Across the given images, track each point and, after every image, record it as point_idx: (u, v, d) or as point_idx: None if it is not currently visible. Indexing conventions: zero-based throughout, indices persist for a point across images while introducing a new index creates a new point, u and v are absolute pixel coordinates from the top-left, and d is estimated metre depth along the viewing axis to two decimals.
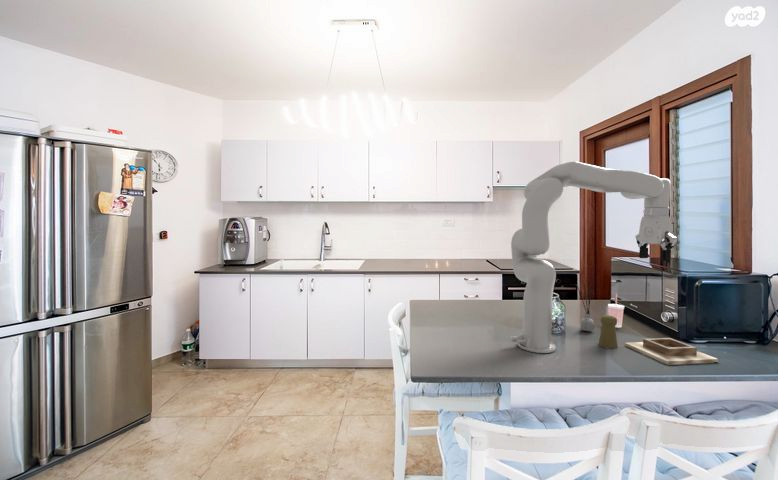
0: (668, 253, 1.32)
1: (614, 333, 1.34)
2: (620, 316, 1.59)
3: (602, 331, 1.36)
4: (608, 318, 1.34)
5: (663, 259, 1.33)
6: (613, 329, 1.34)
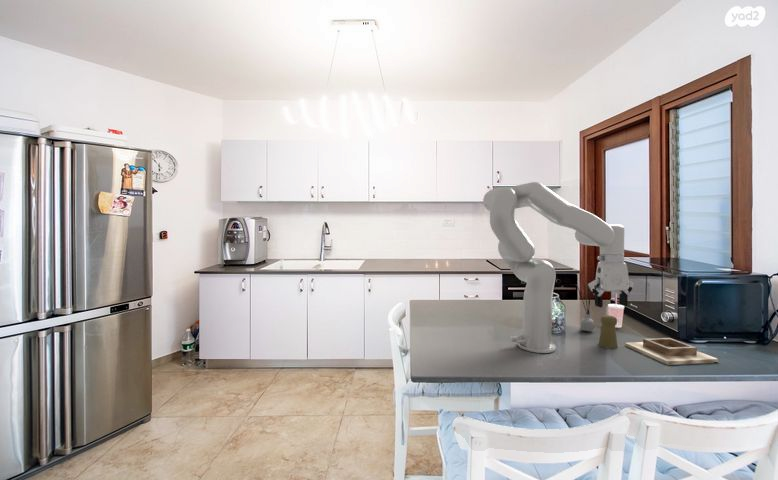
0: None
1: (614, 333, 1.34)
2: (620, 316, 1.59)
3: (602, 331, 1.36)
4: (608, 318, 1.34)
5: None
6: (613, 329, 1.34)
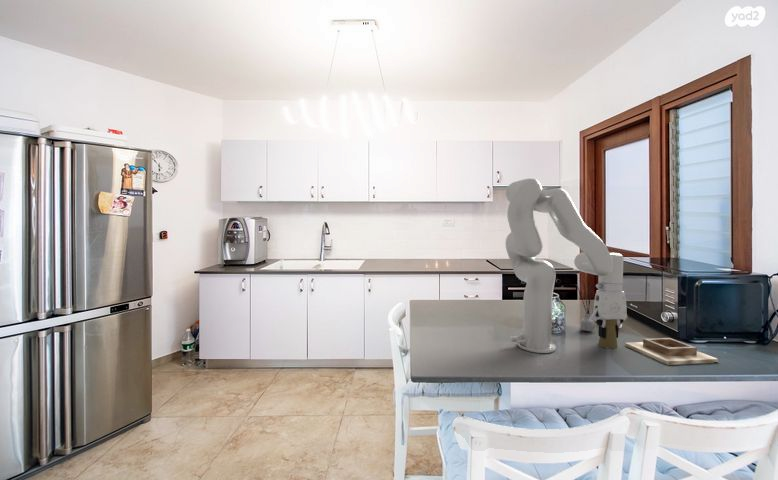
0: None
1: (614, 333, 1.34)
2: None
3: None
4: None
5: None
6: (613, 329, 1.34)
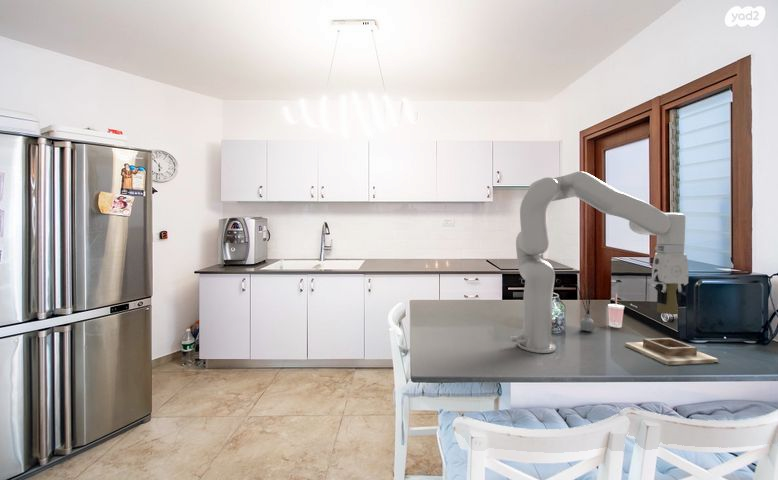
0: None
1: (675, 298, 1.26)
2: (620, 316, 1.59)
3: None
4: None
5: None
6: (674, 294, 1.26)
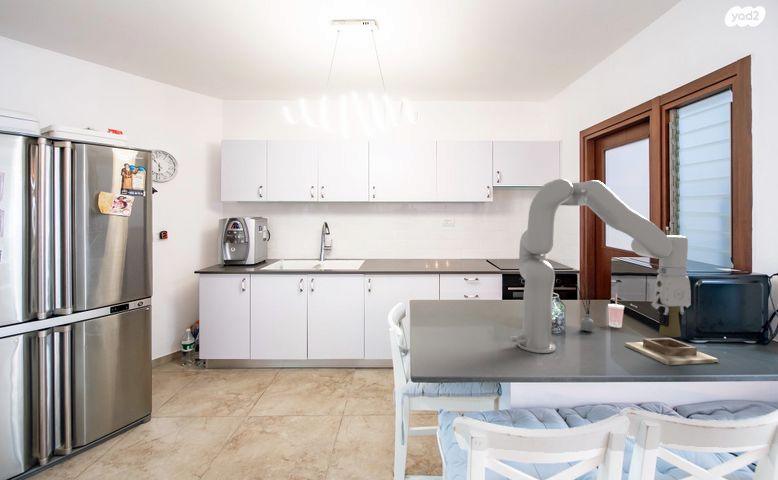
0: None
1: (677, 321, 1.26)
2: (620, 316, 1.59)
3: None
4: None
5: None
6: (676, 316, 1.26)
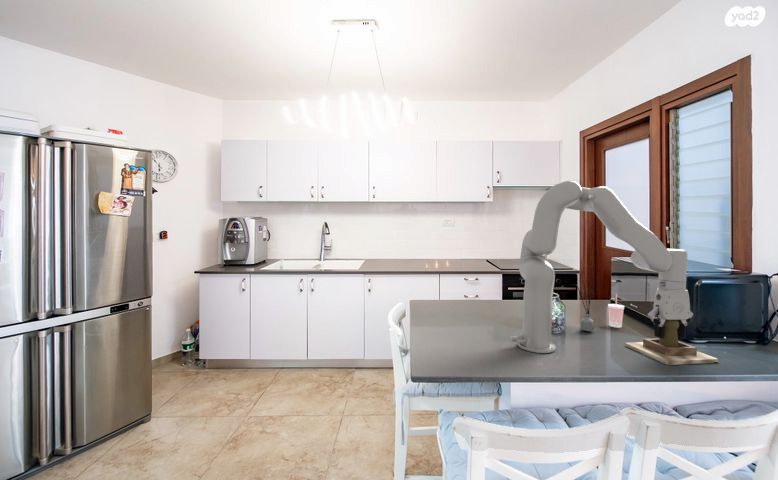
0: None
1: (676, 337, 1.26)
2: (620, 316, 1.59)
3: None
4: (670, 321, 1.26)
5: None
6: (675, 333, 1.26)
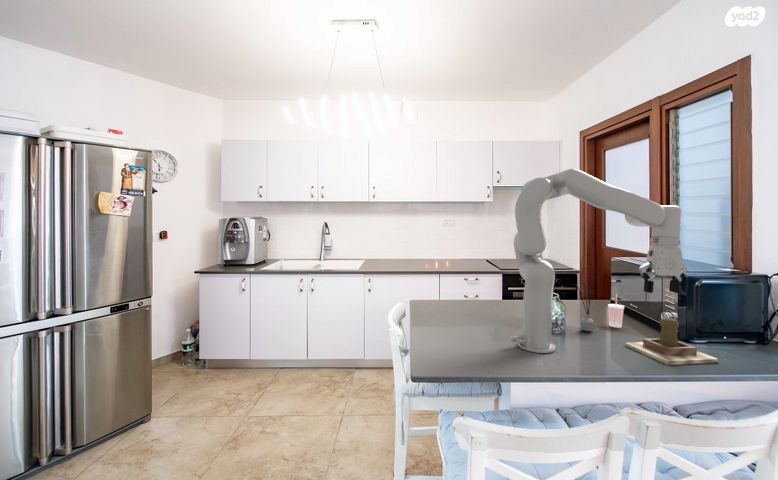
0: None
1: (676, 337, 1.26)
2: (620, 316, 1.59)
3: (662, 335, 1.28)
4: (669, 321, 1.26)
5: None
6: (675, 333, 1.26)
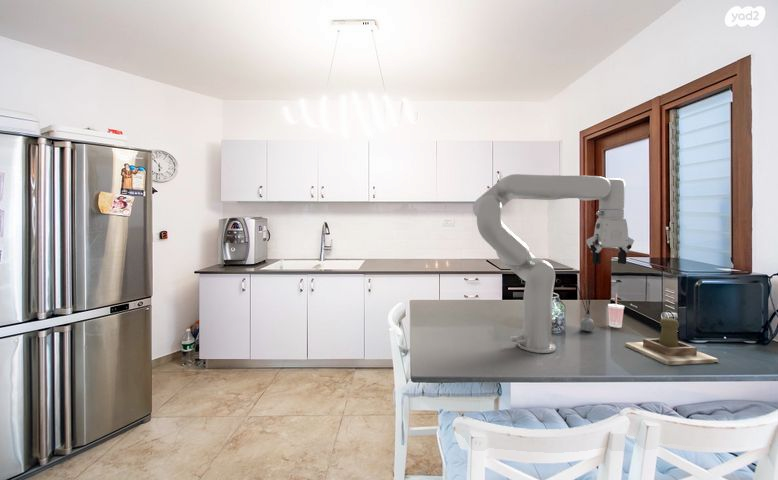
0: None
1: (676, 337, 1.26)
2: (620, 316, 1.59)
3: (662, 335, 1.28)
4: (669, 321, 1.26)
5: None
6: (675, 333, 1.26)
